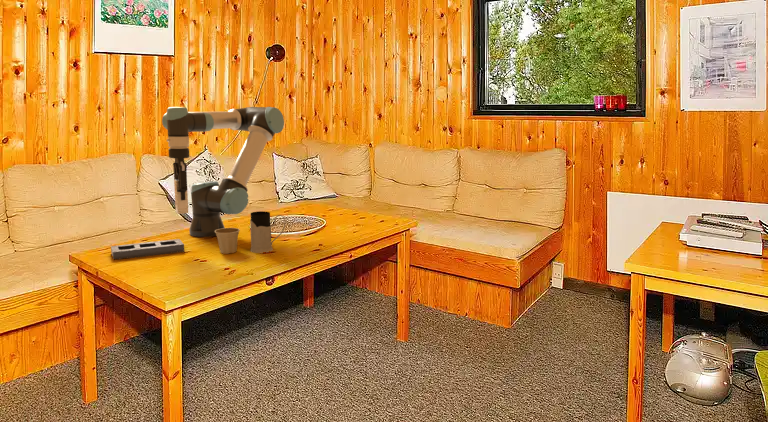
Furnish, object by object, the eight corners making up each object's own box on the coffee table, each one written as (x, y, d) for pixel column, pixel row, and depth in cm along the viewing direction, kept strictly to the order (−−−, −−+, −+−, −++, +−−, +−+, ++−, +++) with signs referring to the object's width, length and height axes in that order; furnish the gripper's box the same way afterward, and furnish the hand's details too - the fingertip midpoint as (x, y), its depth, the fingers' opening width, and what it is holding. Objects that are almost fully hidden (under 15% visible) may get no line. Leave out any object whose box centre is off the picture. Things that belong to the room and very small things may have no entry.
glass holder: (249, 248, 220) (247, 211, 218) (284, 245, 225) (283, 209, 223) (251, 253, 212) (250, 215, 210) (288, 250, 217) (287, 213, 215)
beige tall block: (186, 211, 219) (184, 179, 216) (188, 213, 215) (186, 180, 213) (175, 212, 217) (174, 179, 214) (177, 213, 213) (176, 180, 211)
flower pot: (214, 255, 209) (213, 233, 208) (216, 249, 219) (215, 228, 217) (239, 254, 211) (238, 232, 210) (241, 248, 220) (240, 227, 219)
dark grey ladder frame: (179, 246, 223) (179, 238, 222) (184, 251, 214) (183, 244, 214) (111, 253, 210) (110, 246, 210) (113, 260, 202) (112, 252, 201)
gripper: (164, 146, 217) (167, 204, 221) (173, 149, 202) (176, 211, 206) (184, 146, 221) (186, 203, 225) (193, 148, 206) (196, 209, 210)
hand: (181, 207), depth 216 cm, fingers closed on beige tall block, 4 cm apart
